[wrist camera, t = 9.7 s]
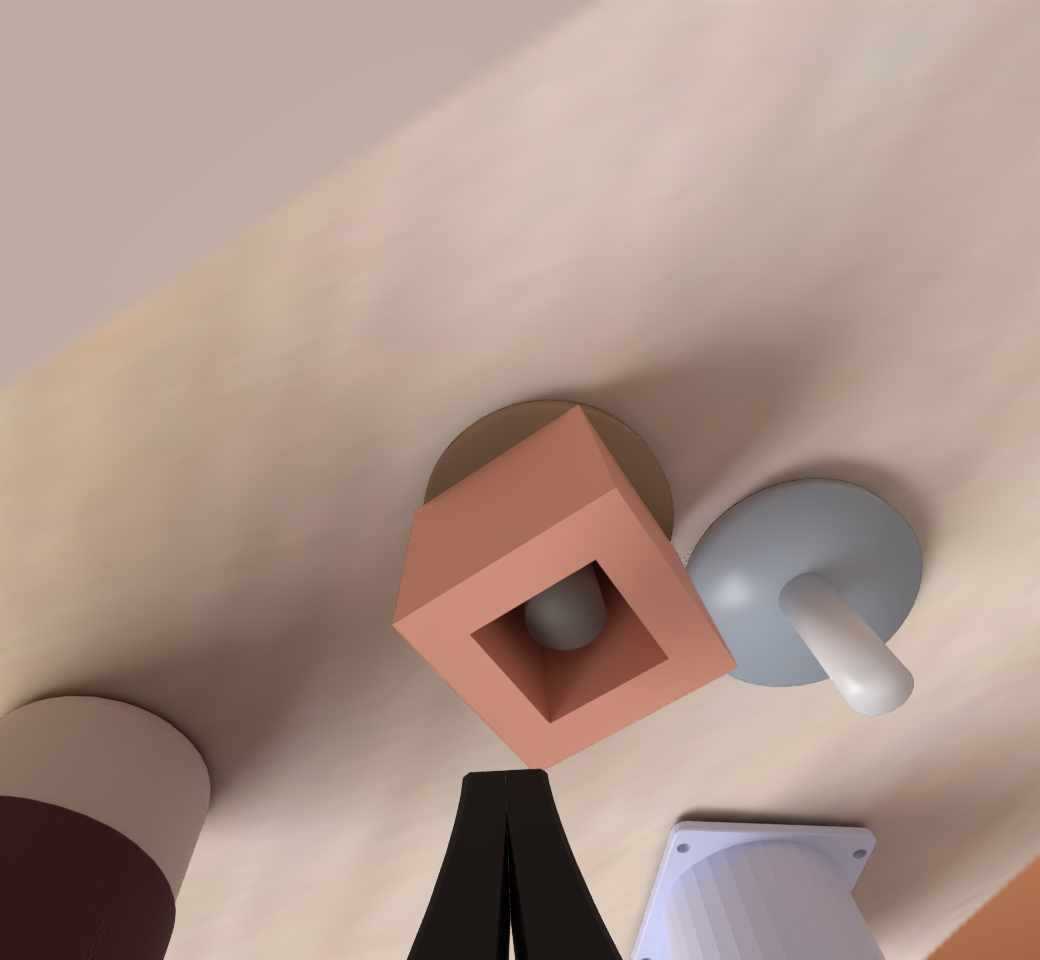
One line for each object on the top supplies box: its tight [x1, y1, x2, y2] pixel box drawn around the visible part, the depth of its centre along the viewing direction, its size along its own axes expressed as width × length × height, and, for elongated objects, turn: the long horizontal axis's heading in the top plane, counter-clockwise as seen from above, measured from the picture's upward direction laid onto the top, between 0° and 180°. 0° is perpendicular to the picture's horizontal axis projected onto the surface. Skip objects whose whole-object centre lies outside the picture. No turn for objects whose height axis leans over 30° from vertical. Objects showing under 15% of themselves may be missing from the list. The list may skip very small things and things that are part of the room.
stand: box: [686, 478, 922, 716], centre depth 18 cm, size 7×7×5 cm
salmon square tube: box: [392, 405, 738, 770], centre depth 16 cm, size 5×5×5 cm
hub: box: [424, 400, 674, 650], centre depth 16 cm, size 7×7×5 cm
